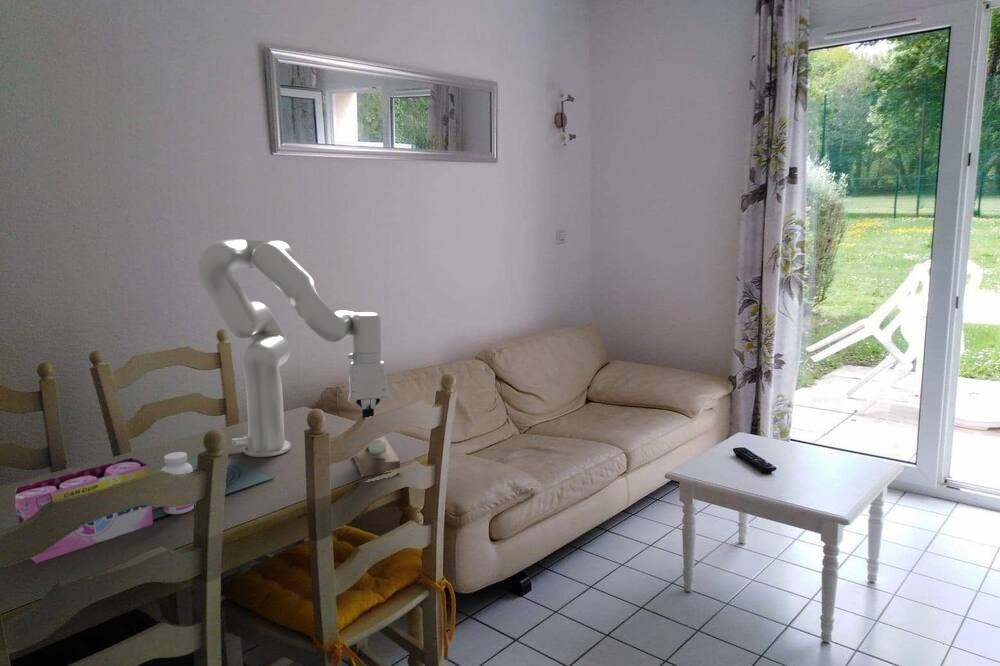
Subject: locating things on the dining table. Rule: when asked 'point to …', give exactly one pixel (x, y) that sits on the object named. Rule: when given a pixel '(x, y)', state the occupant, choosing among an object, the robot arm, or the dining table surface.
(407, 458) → the dining table surface
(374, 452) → the sage green button
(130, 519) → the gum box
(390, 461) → the button panel
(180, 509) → the supplement bottle
